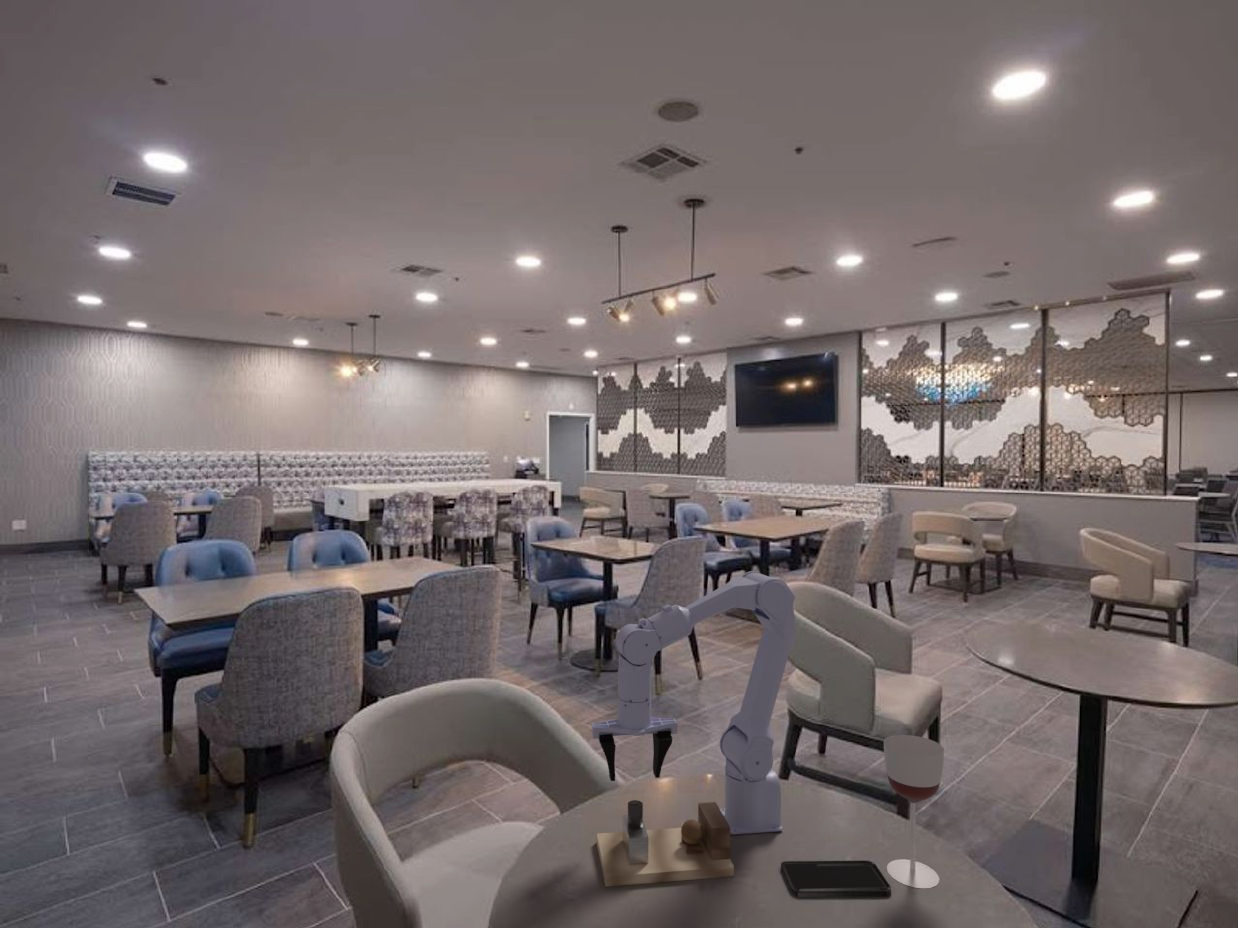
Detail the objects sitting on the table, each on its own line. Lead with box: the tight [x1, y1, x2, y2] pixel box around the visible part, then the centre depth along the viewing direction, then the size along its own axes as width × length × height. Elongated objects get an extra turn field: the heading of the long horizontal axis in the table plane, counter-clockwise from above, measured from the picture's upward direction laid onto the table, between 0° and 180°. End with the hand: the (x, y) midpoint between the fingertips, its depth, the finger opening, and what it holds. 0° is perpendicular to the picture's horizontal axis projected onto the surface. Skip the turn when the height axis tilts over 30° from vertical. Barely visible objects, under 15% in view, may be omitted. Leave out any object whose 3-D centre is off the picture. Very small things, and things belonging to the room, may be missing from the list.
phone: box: [780, 860, 892, 898], centre depth 103 cm, size 8×1×15 cm
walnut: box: [680, 819, 703, 845], centre depth 109 cm, size 4×4×4 cm
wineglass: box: [883, 734, 945, 889], centre depth 105 cm, size 8×9×20 cm
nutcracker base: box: [596, 801, 735, 888], centre depth 108 cm, size 20×12×6 cm, turn 98°
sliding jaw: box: [622, 799, 649, 864], centre depth 107 cm, size 3×7×8 cm, turn 8°
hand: (634, 776), depth 114 cm, fingers open, 7 cm apart
